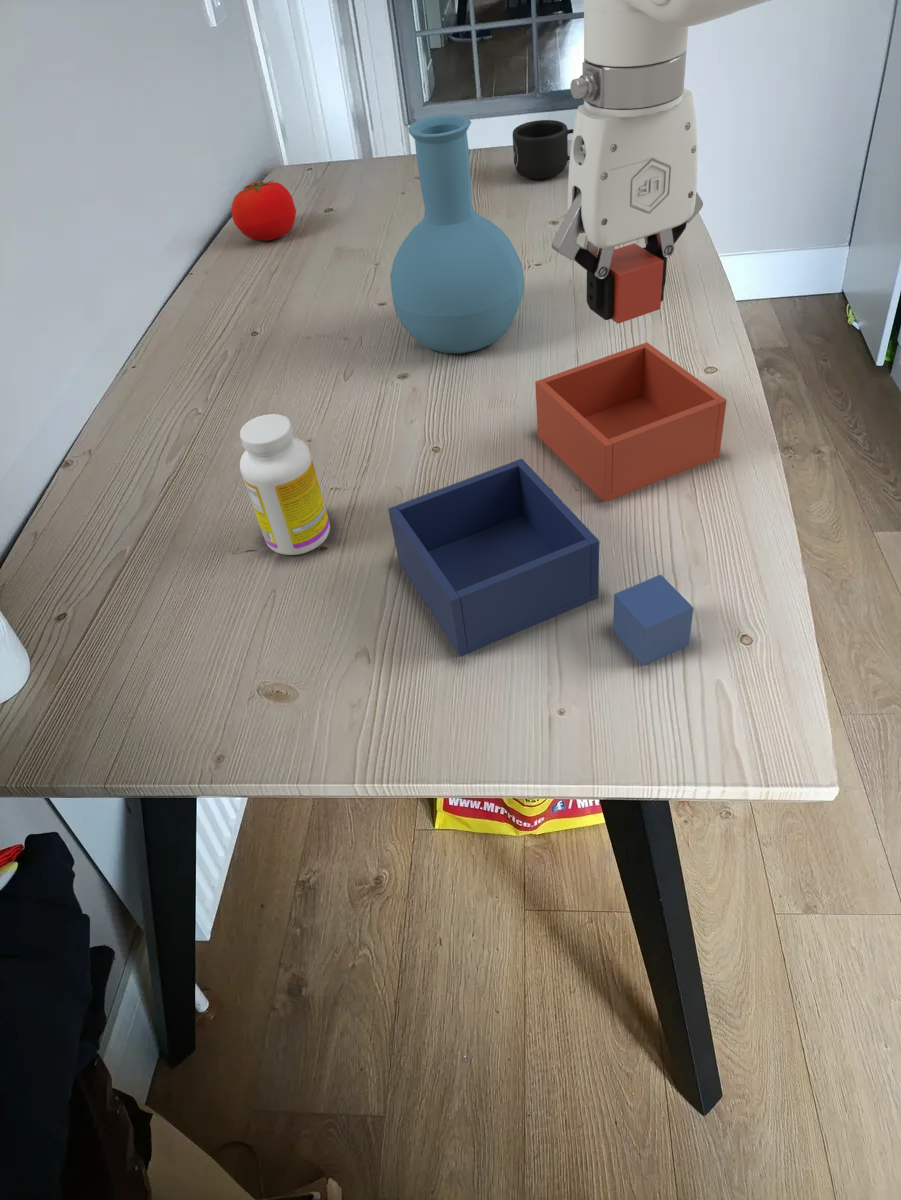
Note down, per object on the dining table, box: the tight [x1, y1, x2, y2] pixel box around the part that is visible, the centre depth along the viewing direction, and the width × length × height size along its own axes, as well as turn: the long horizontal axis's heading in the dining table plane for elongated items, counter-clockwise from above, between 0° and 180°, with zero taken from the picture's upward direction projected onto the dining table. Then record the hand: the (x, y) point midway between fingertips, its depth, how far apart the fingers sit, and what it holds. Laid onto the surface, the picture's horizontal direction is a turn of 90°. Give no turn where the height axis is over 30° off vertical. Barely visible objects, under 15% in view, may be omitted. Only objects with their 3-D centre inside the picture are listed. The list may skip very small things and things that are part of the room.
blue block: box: [612, 574, 694, 667], centre depth 72 cm, size 4×4×4 cm
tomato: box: [231, 179, 297, 242], centre depth 140 cm, size 9×10×8 cm
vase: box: [390, 113, 525, 355], centre depth 104 cm, size 16×16×25 cm
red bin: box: [534, 341, 727, 503], centre depth 90 cm, size 14×14×7 cm
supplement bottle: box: [239, 413, 331, 556], centre depth 83 cm, size 7×7×13 cm
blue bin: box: [387, 458, 600, 657], centre depth 78 cm, size 14×14×7 cm
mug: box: [512, 119, 574, 181], centre depth 146 cm, size 12×9×7 cm
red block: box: [596, 242, 664, 324], centre depth 78 cm, size 4×4×4 cm
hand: (625, 303), depth 80 cm, fingers closed on red block, 4 cm apart
